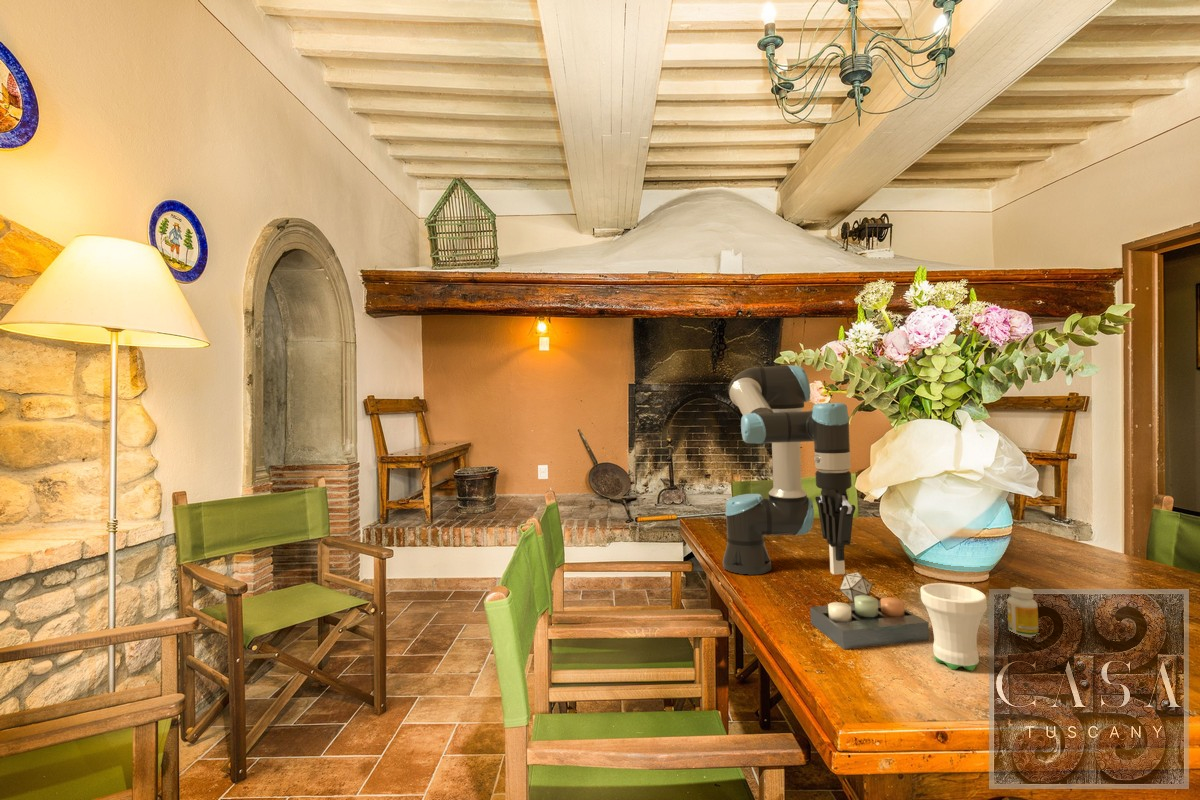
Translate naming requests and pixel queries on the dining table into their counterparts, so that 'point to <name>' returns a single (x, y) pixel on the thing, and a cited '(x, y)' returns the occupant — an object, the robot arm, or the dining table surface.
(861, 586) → the game die
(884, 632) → the panel
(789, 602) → the dining table surface
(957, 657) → the cup
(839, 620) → the ivory button
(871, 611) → the sage button
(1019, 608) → the supplement bottle
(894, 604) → the terracotta button
